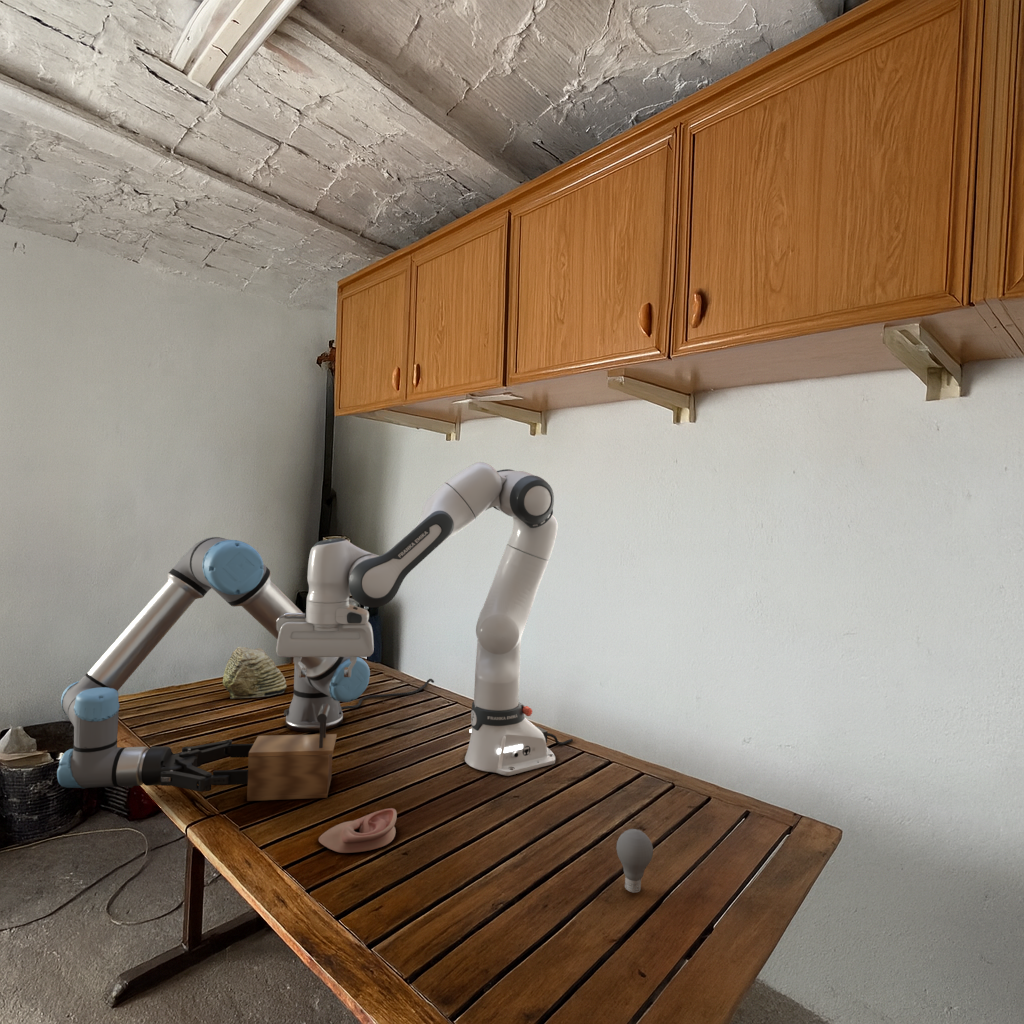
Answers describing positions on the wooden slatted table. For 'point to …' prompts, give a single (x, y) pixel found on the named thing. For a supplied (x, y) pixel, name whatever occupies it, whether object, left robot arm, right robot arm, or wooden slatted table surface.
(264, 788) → the chest
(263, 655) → the fossil
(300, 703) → the left robot arm
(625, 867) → the light bulb
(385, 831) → the anatomical model
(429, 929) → the wooden slatted table surface
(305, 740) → the lid
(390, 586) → the right robot arm
